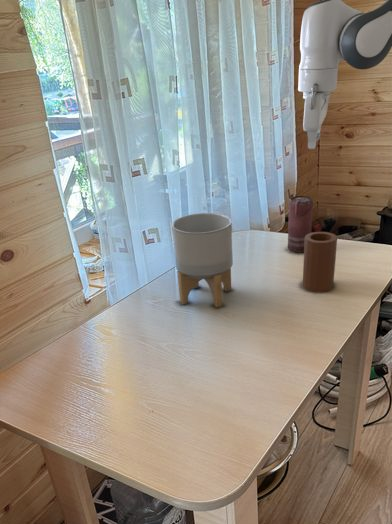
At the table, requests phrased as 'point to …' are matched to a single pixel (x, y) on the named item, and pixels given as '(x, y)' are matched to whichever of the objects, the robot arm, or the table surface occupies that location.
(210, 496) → the table surface
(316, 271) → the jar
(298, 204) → the can
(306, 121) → the robot arm
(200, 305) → the table surface
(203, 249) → the planter
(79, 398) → the table surface
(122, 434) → the table surface
